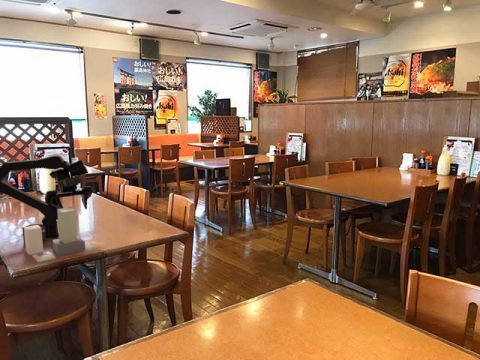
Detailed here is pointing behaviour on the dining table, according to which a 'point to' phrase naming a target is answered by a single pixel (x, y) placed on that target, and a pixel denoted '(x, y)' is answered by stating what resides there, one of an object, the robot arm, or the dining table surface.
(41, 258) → the plaque
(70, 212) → the sage block
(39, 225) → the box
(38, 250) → the white block
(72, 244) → the slate base
